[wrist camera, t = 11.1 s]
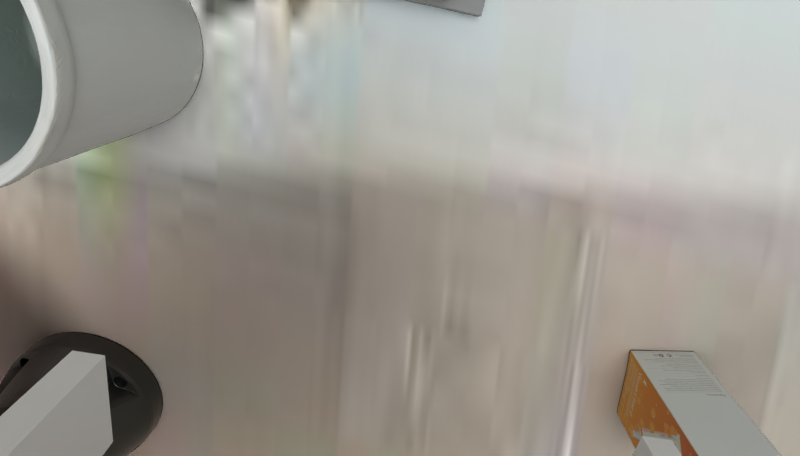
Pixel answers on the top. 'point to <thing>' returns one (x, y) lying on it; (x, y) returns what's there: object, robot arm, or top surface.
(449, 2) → the stand
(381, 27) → the top surface
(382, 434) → the top surface
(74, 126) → the utensil holder
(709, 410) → the small box
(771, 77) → the top surface
